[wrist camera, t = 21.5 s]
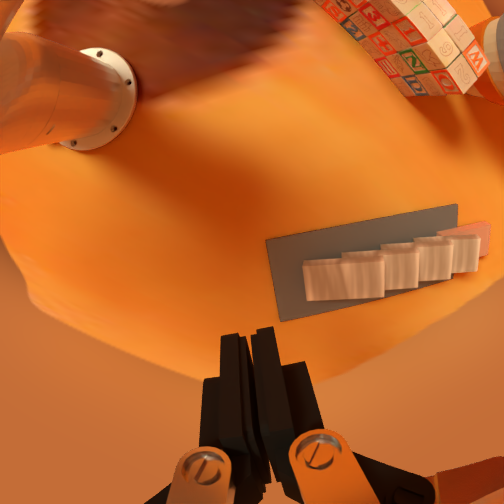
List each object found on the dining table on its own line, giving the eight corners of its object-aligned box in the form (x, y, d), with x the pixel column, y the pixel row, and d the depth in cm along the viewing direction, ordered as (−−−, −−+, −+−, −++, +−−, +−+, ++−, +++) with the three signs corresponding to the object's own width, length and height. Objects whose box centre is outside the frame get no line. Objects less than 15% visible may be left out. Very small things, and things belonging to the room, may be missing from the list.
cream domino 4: (414, 275, 41) (477, 271, 38) (415, 242, 39) (480, 238, 36) (412, 270, 42) (473, 266, 39) (412, 237, 40) (477, 234, 37)
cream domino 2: (343, 292, 41) (417, 287, 38) (341, 258, 39) (419, 252, 36) (344, 286, 42) (415, 281, 39) (341, 252, 41) (417, 247, 38)
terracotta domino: (440, 268, 41) (487, 254, 41) (442, 235, 39) (490, 224, 39) (435, 263, 42) (482, 250, 42) (436, 231, 40) (484, 221, 40)
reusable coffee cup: (434, 12, 29) (506, -12, 15) (496, 43, 30) (566, 37, 16) (434, 94, 33) (514, 94, 20) (495, 117, 34) (570, 130, 21)
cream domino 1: (306, 300, 41) (384, 297, 38) (302, 266, 39) (384, 261, 36) (308, 294, 43) (383, 290, 39) (303, 260, 41) (383, 255, 38)
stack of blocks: (281, -24, 27) (301, -75, 16) (315, -47, 26) (344, -96, 14) (404, 98, 34) (465, 95, 22) (431, 71, 32) (493, 63, 21)
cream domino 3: (381, 283, 41) (450, 279, 38) (381, 249, 39) (453, 245, 36) (380, 277, 42) (447, 273, 39) (380, 244, 40) (450, 240, 37)
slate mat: (279, 320, 44) (280, 322, 44) (265, 240, 40) (265, 241, 39) (451, 277, 44) (453, 278, 44) (456, 203, 39) (457, 204, 39)
